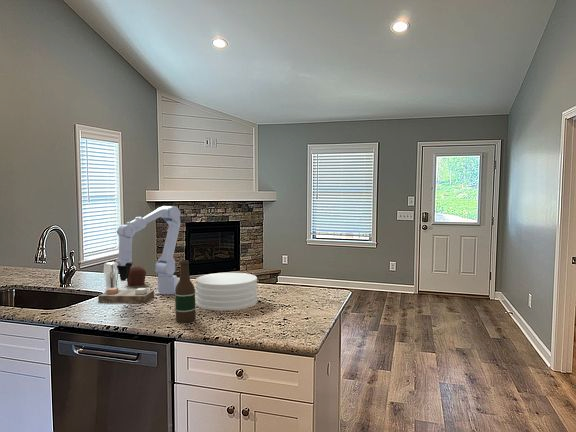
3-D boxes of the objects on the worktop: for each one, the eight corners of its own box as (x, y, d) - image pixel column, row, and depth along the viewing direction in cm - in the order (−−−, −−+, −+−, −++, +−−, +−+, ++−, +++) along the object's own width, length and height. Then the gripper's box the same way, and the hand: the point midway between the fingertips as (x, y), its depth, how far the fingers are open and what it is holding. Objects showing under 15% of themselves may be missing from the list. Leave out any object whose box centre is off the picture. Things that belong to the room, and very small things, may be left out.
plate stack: (219, 293, 221) (219, 270, 221) (268, 299, 209) (267, 275, 208) (183, 306, 196) (182, 281, 195) (236, 313, 184) (235, 286, 183)
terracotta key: (118, 293, 211) (118, 287, 211) (114, 295, 207) (114, 289, 207) (110, 293, 211) (110, 287, 211) (106, 295, 207) (106, 289, 207)
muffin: (121, 284, 243) (121, 266, 243) (141, 281, 251) (140, 264, 250) (130, 287, 234) (130, 269, 234) (150, 284, 242) (149, 266, 241)
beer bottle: (177, 317, 178) (176, 259, 176) (196, 317, 178) (195, 258, 177) (173, 323, 170) (172, 262, 169) (194, 323, 171) (193, 262, 169)
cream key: (146, 294, 210) (146, 288, 210) (143, 296, 206) (143, 289, 206) (138, 294, 211) (138, 288, 211) (135, 296, 207) (135, 289, 207)
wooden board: (154, 296, 214) (153, 290, 214) (144, 302, 203) (144, 296, 202) (110, 296, 216) (110, 290, 215) (98, 302, 204) (98, 295, 204)
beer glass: (113, 294, 220) (112, 264, 219) (101, 293, 221) (100, 264, 220) (121, 291, 226) (120, 262, 226) (109, 290, 228) (108, 261, 227)
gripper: (118, 248, 211) (117, 277, 211) (113, 251, 197) (112, 281, 197) (134, 249, 212) (133, 277, 212) (130, 251, 198) (129, 281, 198)
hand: (124, 279), depth 205 cm, fingers open, 7 cm apart
